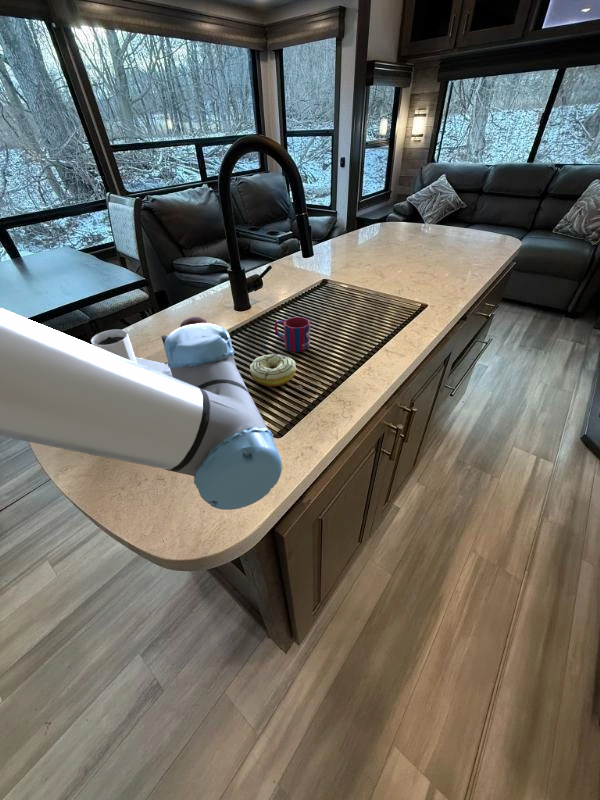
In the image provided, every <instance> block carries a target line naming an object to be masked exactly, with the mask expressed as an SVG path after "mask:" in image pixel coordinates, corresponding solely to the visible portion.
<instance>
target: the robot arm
mask: <svg viewBox="0 0 600 800" xmlns="http://www.w3.org/2000/svg"><path fill="white" fill-rule="evenodd" d="M160 337H161V340H162V343H163V347H164V351H165V356H166V359H167V363H166V364H168V367H170V370H168V371H167V370H165V371H162V372H158V371H156V370H153V369H151V368H148V367H146V366H143V365H141V364H138V363H136V362H133V361H131V360H128V359H126V358H123V357H121V356H118V355H116V354H113V353H111V352H108V351H106V350H103V349H101V348H98V347H96V346H93V344H92V343H91V344H90V343H89V342H86V341H84V340H81V339H78V338H76V337H74V336H71V335H68V334H66V333H64V332H61V331H59V330H56V329H53V328H51V327H48V326H46V325H44V324H41V323H38V322H36V321H33V320H31V319H28V318H26V317H24V316H21V315H18V314H16V313H14V312H11V311H9V310H6V309H4V308H1V307H0V437H3V438H7V439H13V440H17V441H22V442H28V443H32V444H37V445H42V446H47V447H52V448H56V449H62V450H66V451H72V452H77V453H82V454H87V455H91V456H97V457H101V458H106V459H112V460H116V461H121V462H125V463H131V464H137V465H141V466H145V467H150V468H155V469H160V470H166V471H170V472H173V473H178V474H182V475H187V476H191V477H193V484H194V485H195V487H196V489H197V490H198V494H199V496H200V498H201V499H202V500H203V501H204V502H206V503H207V504H209V505H210V506H211V507H212V508H214V509H218V510H226V511H228V510H238V509H242V508H246V507H248V506H250V505H253V504H255V503H257V502H259V501H260V500H262V499H264V497H266V496H267V495H268V494H270V491H271V490H272V489H273V488H274V487H275V486H276V485H277V484H278V482H279V480H280V478H281V475H282V471H283V461H282V459H281V458H282V457H281V455H280V452H279V450H278V447H277V445H276V443H275V441H274V435H273V433H272V430H270V429H269V428H268V426H267V425H266V423H265V421H264V418H263V417H262V415H261V413H260V411H259V410H258V407H257V405H256V403H255V401H254V400H253V398H252V396H251V394H250V392H249V390H248V387H247V386H246V384H245V382H244V379H243V378H242V375H241V374H240V371H239V370H238V367H237V365H236V360H235V353H236V352H235V349H234V348H233V345H232V340H231V335H230V333H229V332H228V331H227V329H225V328H224V327H223V326H221V325H218V324H215V323H210V322H207V323H197V324H191V325H186V326H183V327H181V328H180V327H179V328H176V329H175V330H173V331H172V332H170V333H169V334H168V335H165V334H163V335H161V336H160Z"/></svg>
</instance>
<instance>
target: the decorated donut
mask: <svg viewBox="0 0 600 800" xmlns="http://www.w3.org/2000/svg"><path fill="white" fill-rule="evenodd" d="M249 369H250V375H251V377H252V378H253V380H254V381H255V382H256V383H258V384H260V385H262V386H266V387H278V386H284V385H285V384H287V383H288V382H290V381H291V380H292V379H293V378H294V376H295V374H296V372H297V366H296V361H295V360H294V359H292V358H291V357H289V356H286V355H284V354H279V353H278V354H277V353H273V354H264V355H261V356H257V357H256V358H255V359H254V360H253V361H252V362H251V364H250V366H249Z"/></svg>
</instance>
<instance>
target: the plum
mask: <svg viewBox="0 0 600 800" xmlns="http://www.w3.org/2000/svg"><path fill="white" fill-rule="evenodd" d="M197 323H208V322H207V320H206V319H204V318H203V317H200V316H190V317H188V318H186V319H184V320H182V321H181V323H180V326H179V328H181V327H183V326H186V325H191V324H197Z"/></svg>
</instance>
